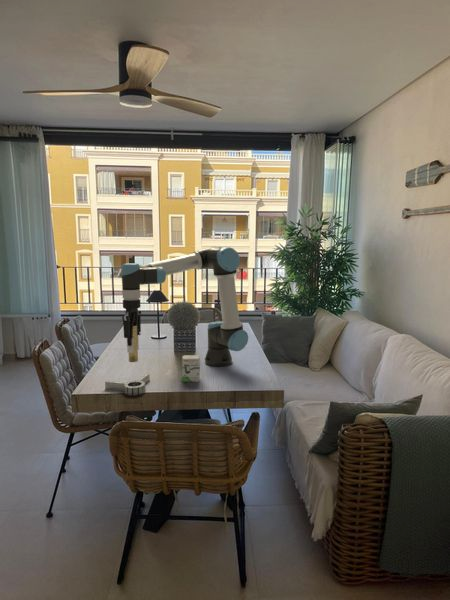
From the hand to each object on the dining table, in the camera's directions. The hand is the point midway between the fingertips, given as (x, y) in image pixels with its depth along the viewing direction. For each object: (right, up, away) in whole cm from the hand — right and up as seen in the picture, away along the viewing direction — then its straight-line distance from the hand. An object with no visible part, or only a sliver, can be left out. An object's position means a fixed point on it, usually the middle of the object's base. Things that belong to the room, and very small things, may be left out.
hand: (133, 350), depth 174 cm
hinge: (-4, -18, +9) cm, 20 cm away
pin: (0, -5, +1) cm, 5 cm away
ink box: (+24, -17, +18) cm, 34 cm away
